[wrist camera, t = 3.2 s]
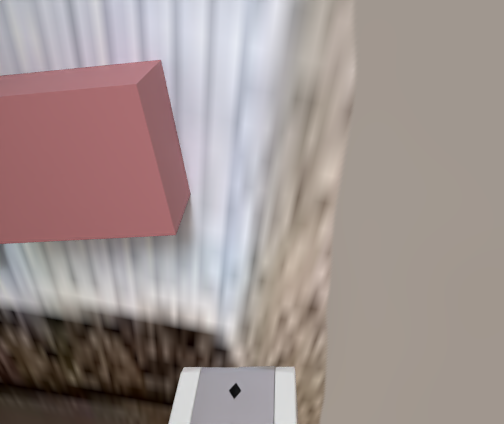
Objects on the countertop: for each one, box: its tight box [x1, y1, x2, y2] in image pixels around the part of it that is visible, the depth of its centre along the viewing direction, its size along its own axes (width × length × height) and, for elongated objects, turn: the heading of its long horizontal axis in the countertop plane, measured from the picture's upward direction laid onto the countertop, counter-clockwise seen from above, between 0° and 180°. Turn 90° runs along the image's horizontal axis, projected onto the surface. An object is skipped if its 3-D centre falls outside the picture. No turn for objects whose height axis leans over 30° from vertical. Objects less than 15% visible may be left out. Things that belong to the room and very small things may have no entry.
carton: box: [0, 60, 190, 244], centre depth 25 cm, size 9×12×5 cm
